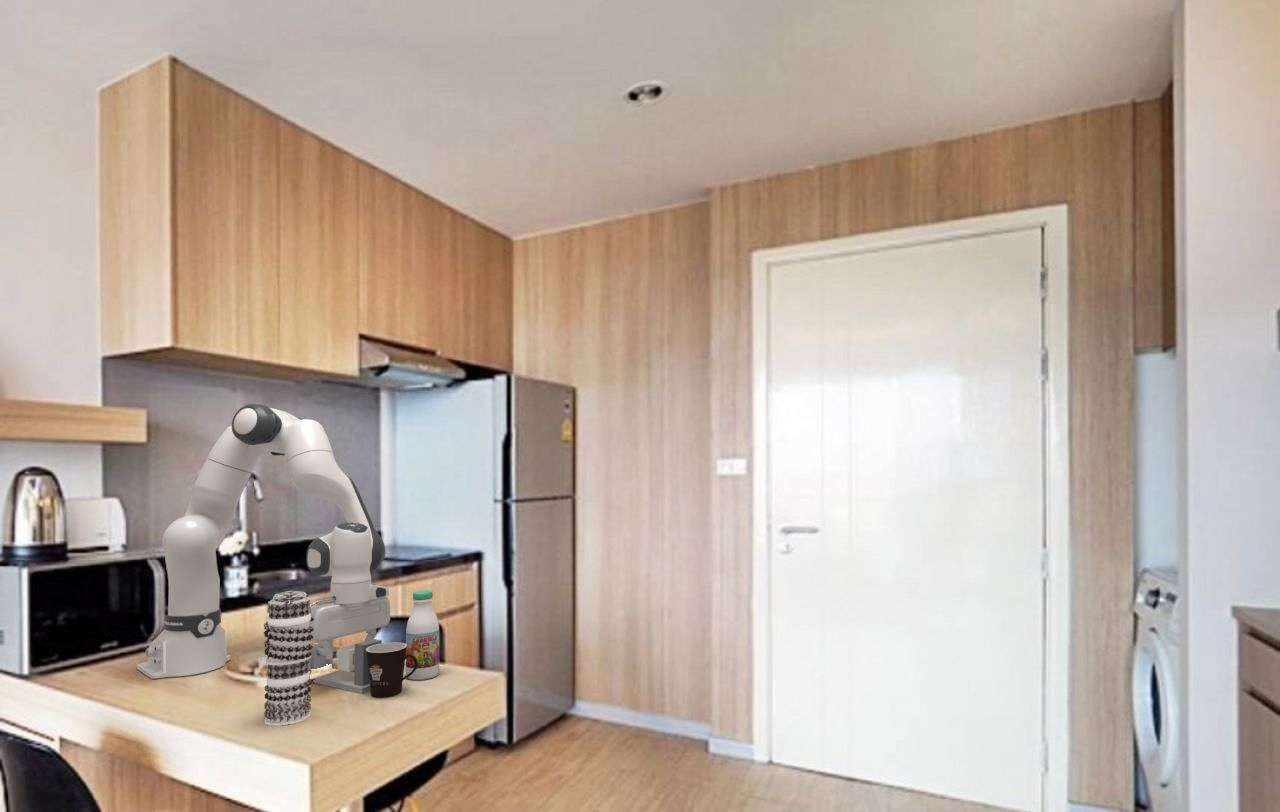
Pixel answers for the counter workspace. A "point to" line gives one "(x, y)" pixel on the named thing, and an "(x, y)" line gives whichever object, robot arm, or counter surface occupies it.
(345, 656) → the marker sleeve
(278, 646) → the decorative candle
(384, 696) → the coffee mug
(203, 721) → the counter surface
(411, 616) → the milk bottle
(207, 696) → the counter surface
